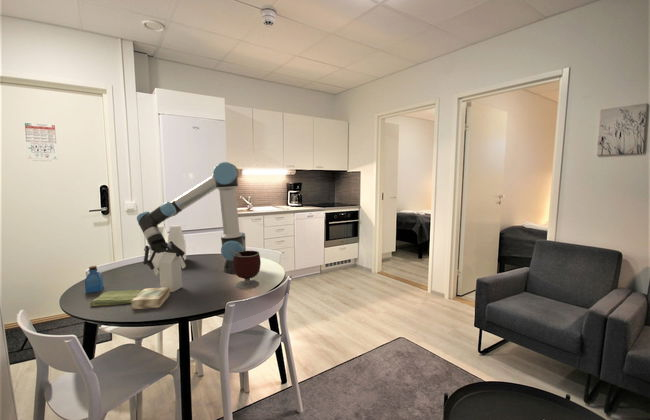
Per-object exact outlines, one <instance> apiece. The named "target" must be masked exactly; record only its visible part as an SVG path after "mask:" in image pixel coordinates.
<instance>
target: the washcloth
mask: <svg viewBox="0 0 650 420" xmlns="http://www.w3.org/2000/svg"><path fill="white" fill-rule="evenodd" d="M141 291H142V290H140V289H138V290H137V289H128V290H113V291H112V290H111V291H105V292H103V293H101V294H100V295H99V296H98V297H95V299H92V300H91V302H90V303H89V305H90V306H91V307H105V306H106V307H107V306H115V305H125V304H127V305H129V304H132V302H131V300H132V299H134V298H135V297H136V296H137V295H138V294H139V293H140V292H141Z"/></svg>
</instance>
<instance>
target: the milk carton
mask: <svg viewBox="0 0 650 420" xmlns="http://www.w3.org/2000/svg"><path fill="white" fill-rule="evenodd" d="M158 271H159V274H158V275H159V285H160V287H159V288H164V287H169V291H170V293H174V292H176V291H178V290H180V289H181V288H183V277H182V267H181V259H180V258H179V257H177V256H176V253H163V256H162V258H161V259H160V261H159V268H158Z"/></svg>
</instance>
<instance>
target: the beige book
mask: <svg viewBox="0 0 650 420" xmlns="http://www.w3.org/2000/svg"><path fill="white" fill-rule="evenodd" d="M170 295H171V292H170V291H169V287H164V288H160V287H149V288H143V290H141V292H140V293H139V294H138V295H137V296H136V297H135V298H134V299H132V300H131V302H132V303H131V309H132V310H142V309H155V308H156V309H157V308H160V307H161V306H162V305H163V304H164V303H165V301H166V300H167V299H168V298H169V297H170Z"/></svg>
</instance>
